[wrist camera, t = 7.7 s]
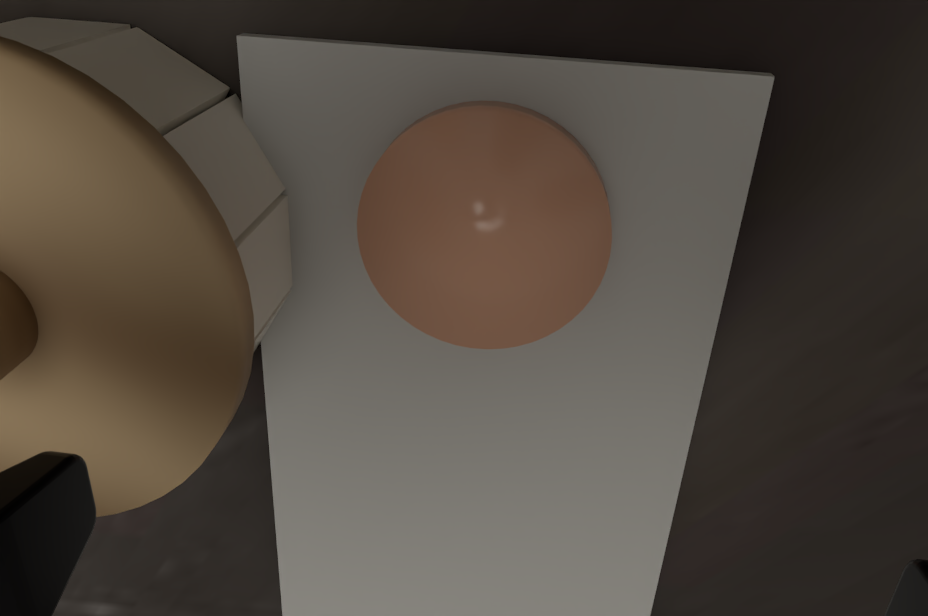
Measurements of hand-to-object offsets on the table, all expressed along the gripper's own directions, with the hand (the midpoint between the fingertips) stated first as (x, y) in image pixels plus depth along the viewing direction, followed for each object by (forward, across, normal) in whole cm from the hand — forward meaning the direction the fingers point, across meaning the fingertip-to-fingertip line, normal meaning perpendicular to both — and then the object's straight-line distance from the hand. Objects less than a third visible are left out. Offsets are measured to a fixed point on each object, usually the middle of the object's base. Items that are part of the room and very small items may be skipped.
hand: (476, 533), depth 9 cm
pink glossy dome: (+12, +1, +1) cm, 12 cm away
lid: (+8, +11, +2) cm, 13 cm away
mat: (+12, +1, +7) cm, 14 cm away
